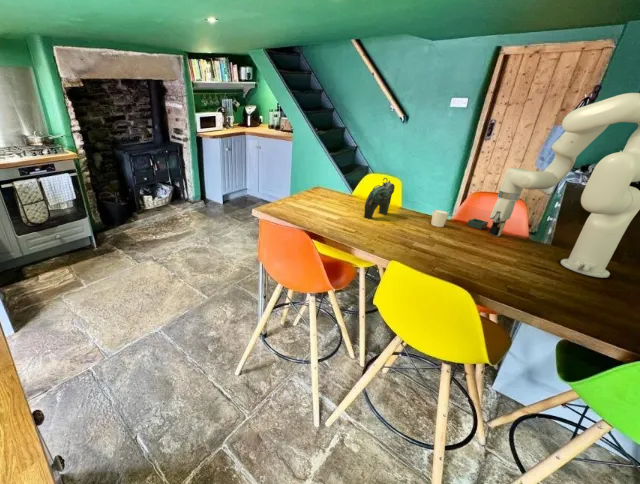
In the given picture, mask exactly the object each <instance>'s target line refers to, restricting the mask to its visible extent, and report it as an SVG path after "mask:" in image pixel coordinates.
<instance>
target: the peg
mask: <svg viewBox="0 0 640 484" xmlns="http://www.w3.org/2000/svg"><path fill="white" fill-rule="evenodd" d="M498 224H499V222H498ZM504 224H505V225H506V222H505V223H501V225H500V230H499V233H498V235H497V236H495V235H492V234H489V235H491V236H494V237H501V235H502V233H503V231H502V230H504V228H503V227H505V225H504Z"/></svg>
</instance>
